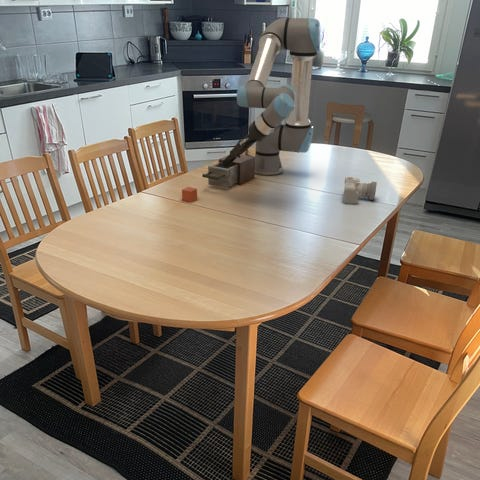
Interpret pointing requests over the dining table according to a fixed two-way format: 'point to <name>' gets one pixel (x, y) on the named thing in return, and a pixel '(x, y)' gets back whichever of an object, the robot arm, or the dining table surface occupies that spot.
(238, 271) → the dining table surface
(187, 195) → the block
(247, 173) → the cabinet
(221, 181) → the grey drawer
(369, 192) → the digital camera
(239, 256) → the dining table surface
